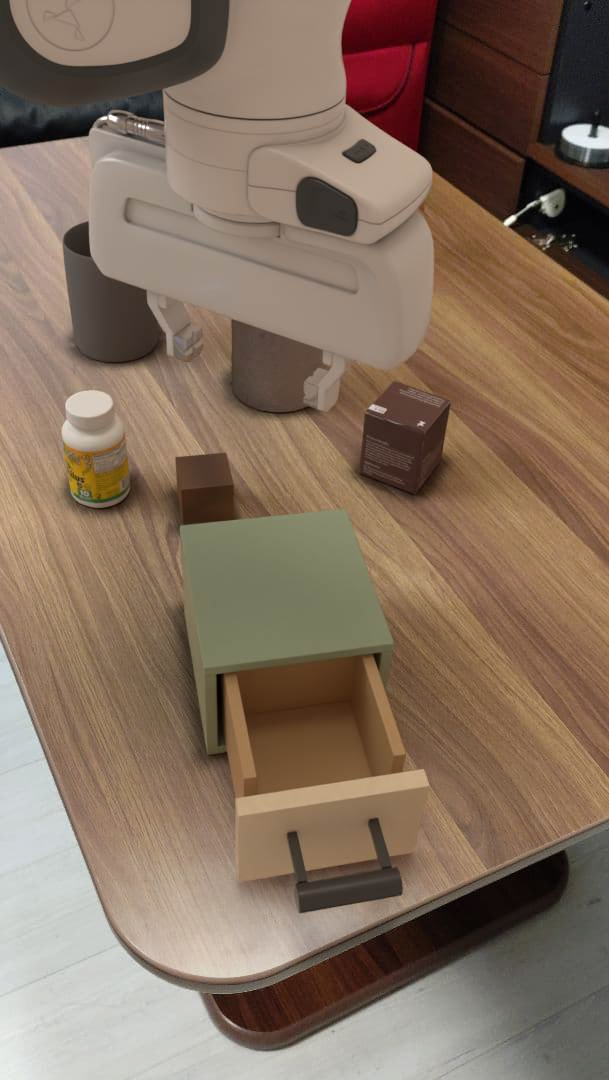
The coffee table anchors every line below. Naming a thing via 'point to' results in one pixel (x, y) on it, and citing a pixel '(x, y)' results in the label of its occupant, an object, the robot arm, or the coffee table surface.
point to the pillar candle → (270, 368)
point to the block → (205, 488)
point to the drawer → (319, 778)
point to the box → (404, 436)
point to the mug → (105, 306)
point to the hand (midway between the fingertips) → (251, 379)
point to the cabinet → (276, 600)
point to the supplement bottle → (95, 450)
